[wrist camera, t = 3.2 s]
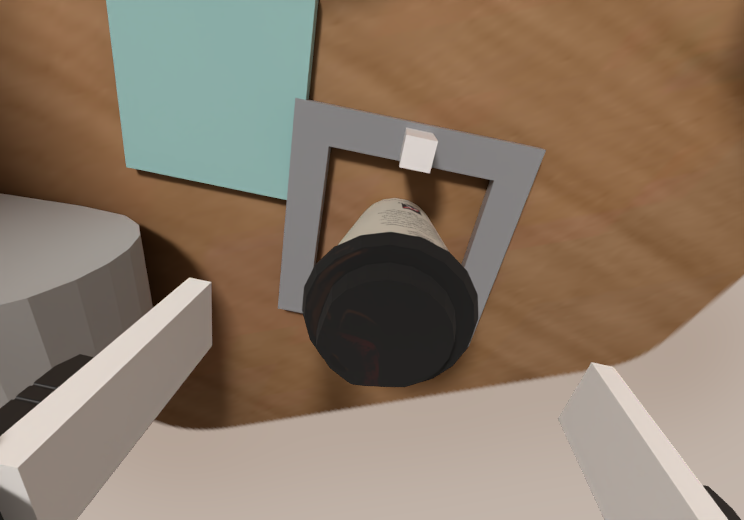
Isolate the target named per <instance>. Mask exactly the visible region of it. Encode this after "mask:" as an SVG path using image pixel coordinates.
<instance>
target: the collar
mask: <svg viewBox="0 0 744 520" xmlns="http://www.w3.org/2000/svg"><path fill="white" fill-rule="evenodd" d="M331 147H335V148H340V149H345V150H349V151H354V152H359V153H364V154H369V155H373V156H378V157H383V158H388V159H393V160H397V161H400V163H399V167H401V168H406V169H411V170H415V171H420V172H425V173H430V171H431V168H436V169H441V170H446V171H450V172H455V173H460V174H465V175H470V176H475V177H479V178H484V179H489V180H490V182H489V185H488V188H487V191H486V194H485V196H484V199H483V202H482V205H481V208H480V211H479V214H478V217H477V220H476V223H475V226H474V229H473V232H472V235H471V238H470V241H469V244H468V247H467V250H466V253H465V256H464V259H463V262H462V266H463V267H464V268H465V269H466V270H467V271H468V274H469V276H470V278H471V280H472V283H473V285H474V287H475V290H476V292H477V294H478V321H479V319H480V316H481V314H482V311H483V309H484V306H485V304H486V301H487V298H488V296H489V293H490V291H491V288H492V286H493V283H494V281H495V278H496V276H497V273H498V271H499V268H500V265H501V263H502V260H503V258H504V255H505V253H506V250H507V248H508V245H509V243H510V240H511V237H512V235H513V232H514V230H515V227H516V225H517V222H518V220H519V217H520V215H521V212H522V209H523V207H524V204H525V202H526V199H527V197H528V194H529V192H530V189H531V187H532V184H533V182H534V179H535V176H536V174H537V171H538V169H539V166H540V164H541V161H542V159H543V156H544V154H545V151H546V150H544V149H542V148H539V147H534V146H529V145H524V144H520V143H515V142H510V141H505V140H501V139H496V138H491V137H486V136H481V135H477V134H472V133H467V132H462V131H457V130H453V129H448V128H443V127H438V126H433V125H429V124H424V123H419V122H414V121H409V120H405V119H400V118H395V117H390V116H385V115H381V114H376V113H371V112H366V111H362V110H357V109H352V108H347V107H342V106H338V105H333V104H328V103H323V102H318V101H314V100H304V99H300V98H295V107H294V119H293V131H292V143H291V155H290V167H289V180H288V192H287V204H286V216H285V228H284V240H283V252H282V265H281V277H280V289H279V301H278V308H279V309H284V310H289V311H294V312H299V313H303V312H302V303H303V292H304V286H305V284H306V282H307V280H308V278H309V276H310V274H311V272H312V270H313V268H314V266H315V264H316V259H317V252H318V244H319V236H320V229H321V221H322V213H323V206H324V198H325V191H326V183H327V175H328V168H329V160H330V152H331ZM478 321H477V324H478ZM477 324H476V326H477ZM475 329H476V327H475ZM474 332H475V330H474ZM473 334H474V333H473ZM472 337H473V335H472ZM471 339H472V338H471ZM470 342H471V341H470ZM469 344H470V343H469ZM468 347H469V345H468Z"/></svg>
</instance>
